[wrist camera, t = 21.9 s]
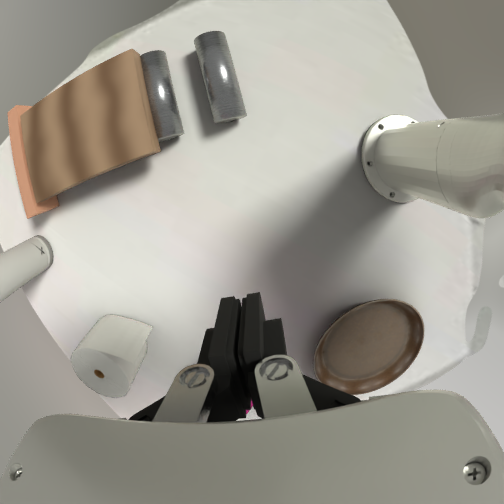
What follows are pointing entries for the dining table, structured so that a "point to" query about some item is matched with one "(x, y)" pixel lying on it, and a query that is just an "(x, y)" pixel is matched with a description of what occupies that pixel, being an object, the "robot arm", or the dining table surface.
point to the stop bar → (25, 166)
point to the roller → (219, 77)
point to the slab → (89, 126)
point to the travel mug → (23, 264)
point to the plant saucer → (369, 346)
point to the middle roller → (161, 95)
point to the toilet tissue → (111, 355)
